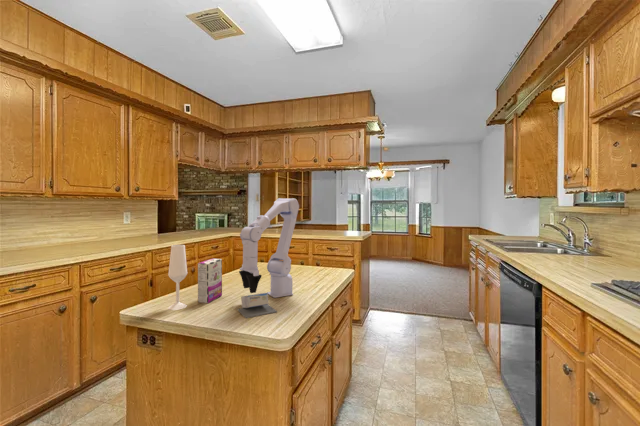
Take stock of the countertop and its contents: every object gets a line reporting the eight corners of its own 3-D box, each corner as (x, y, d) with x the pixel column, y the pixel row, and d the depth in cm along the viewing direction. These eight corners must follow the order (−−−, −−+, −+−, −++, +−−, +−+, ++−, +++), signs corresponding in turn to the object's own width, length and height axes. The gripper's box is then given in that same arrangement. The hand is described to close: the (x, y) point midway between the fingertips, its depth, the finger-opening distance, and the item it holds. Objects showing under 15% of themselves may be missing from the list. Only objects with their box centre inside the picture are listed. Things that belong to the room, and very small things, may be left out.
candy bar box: (212, 294, 132) (212, 258, 131) (222, 295, 131) (222, 258, 130) (196, 302, 121) (197, 262, 120) (207, 303, 120) (208, 263, 119)
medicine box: (241, 308, 115) (248, 308, 108) (240, 296, 116) (247, 295, 109) (261, 304, 119) (268, 304, 112) (260, 293, 120) (267, 292, 113)
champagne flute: (183, 303, 120) (183, 244, 120) (189, 307, 115) (190, 245, 115) (165, 306, 115) (166, 245, 115) (171, 311, 111) (171, 247, 110)
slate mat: (267, 305, 120) (267, 303, 120) (276, 312, 112) (276, 311, 112) (237, 310, 113) (237, 308, 113) (245, 318, 105) (245, 316, 105)
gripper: (234, 254, 123) (234, 287, 123) (246, 260, 111) (245, 296, 111) (251, 253, 127) (250, 285, 127) (264, 258, 115) (263, 293, 115)
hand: (249, 290), depth 119 cm, fingers open, 7 cm apart
